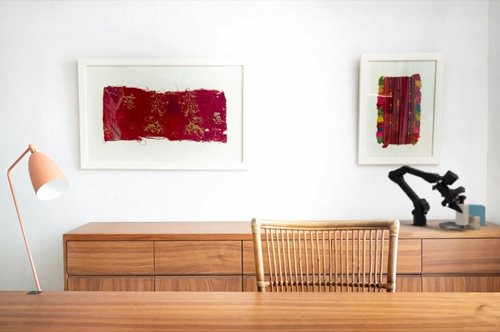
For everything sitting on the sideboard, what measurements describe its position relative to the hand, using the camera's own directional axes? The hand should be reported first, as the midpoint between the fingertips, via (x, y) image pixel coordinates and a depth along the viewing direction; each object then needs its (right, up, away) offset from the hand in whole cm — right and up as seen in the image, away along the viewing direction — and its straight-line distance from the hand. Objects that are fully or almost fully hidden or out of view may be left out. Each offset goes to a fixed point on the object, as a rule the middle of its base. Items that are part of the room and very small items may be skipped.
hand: (464, 212), depth 231 cm
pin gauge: (-4, -9, +9) cm, 13 cm away
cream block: (-1, -7, +1) cm, 7 cm away
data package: (+17, -10, +23) cm, 30 cm away
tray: (0, -10, +14) cm, 17 cm away
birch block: (+8, -10, +7) cm, 15 cm away
